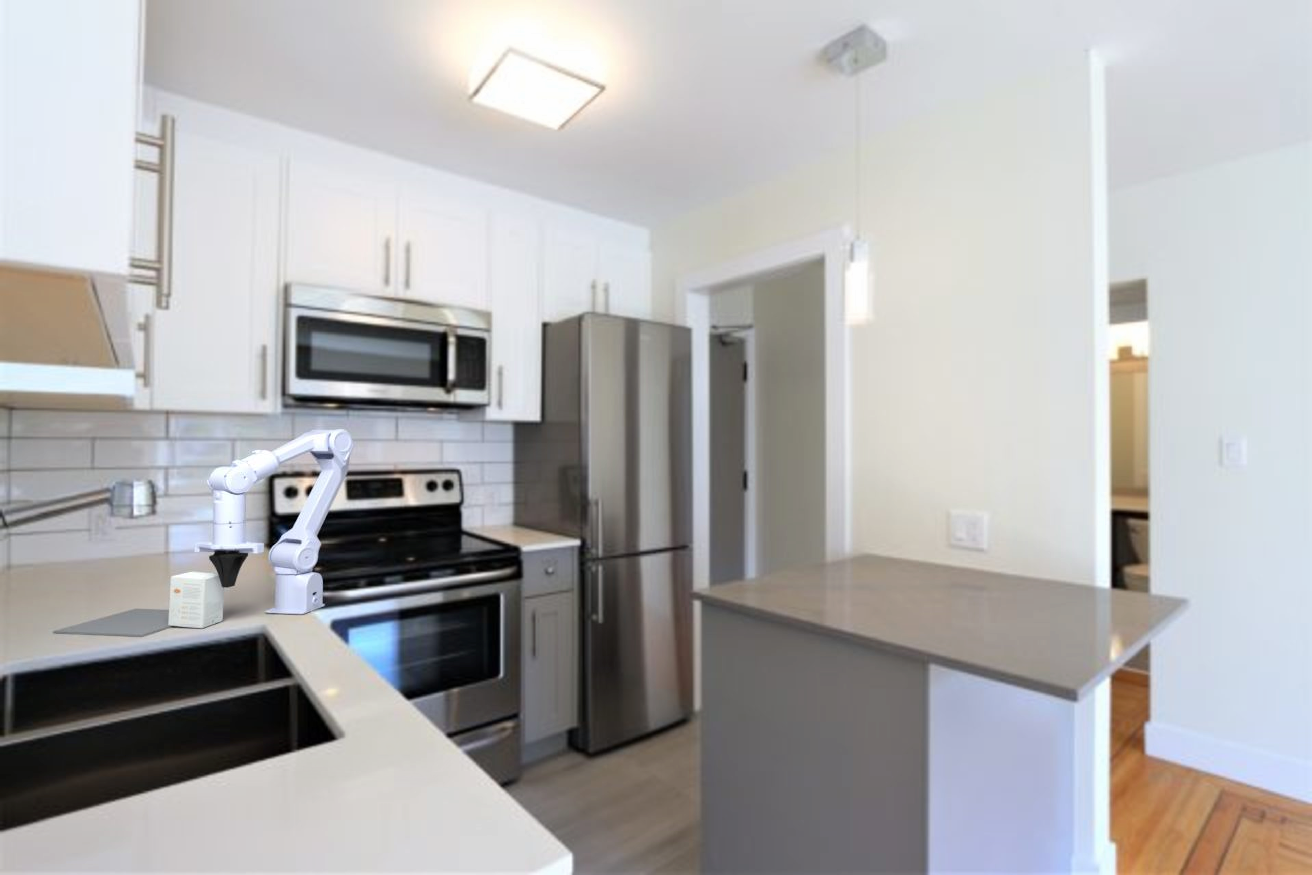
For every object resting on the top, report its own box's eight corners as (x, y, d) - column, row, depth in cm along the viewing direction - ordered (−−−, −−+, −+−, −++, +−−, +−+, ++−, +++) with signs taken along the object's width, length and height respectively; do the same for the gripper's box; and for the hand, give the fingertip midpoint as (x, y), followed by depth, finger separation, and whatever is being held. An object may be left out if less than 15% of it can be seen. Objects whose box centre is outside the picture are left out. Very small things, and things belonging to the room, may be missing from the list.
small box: (223, 621, 136) (226, 573, 136) (202, 629, 130) (205, 578, 130) (189, 618, 136) (192, 570, 137) (166, 625, 131) (170, 575, 131)
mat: (214, 613, 143) (214, 611, 143) (141, 636, 125) (141, 634, 125) (135, 610, 145) (135, 608, 145) (52, 632, 127) (52, 631, 127)
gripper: (182, 524, 130) (181, 589, 129) (246, 525, 128) (245, 591, 128) (210, 520, 137) (208, 582, 136) (271, 521, 135) (270, 584, 135)
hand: (228, 586), depth 133 cm, fingers closed
